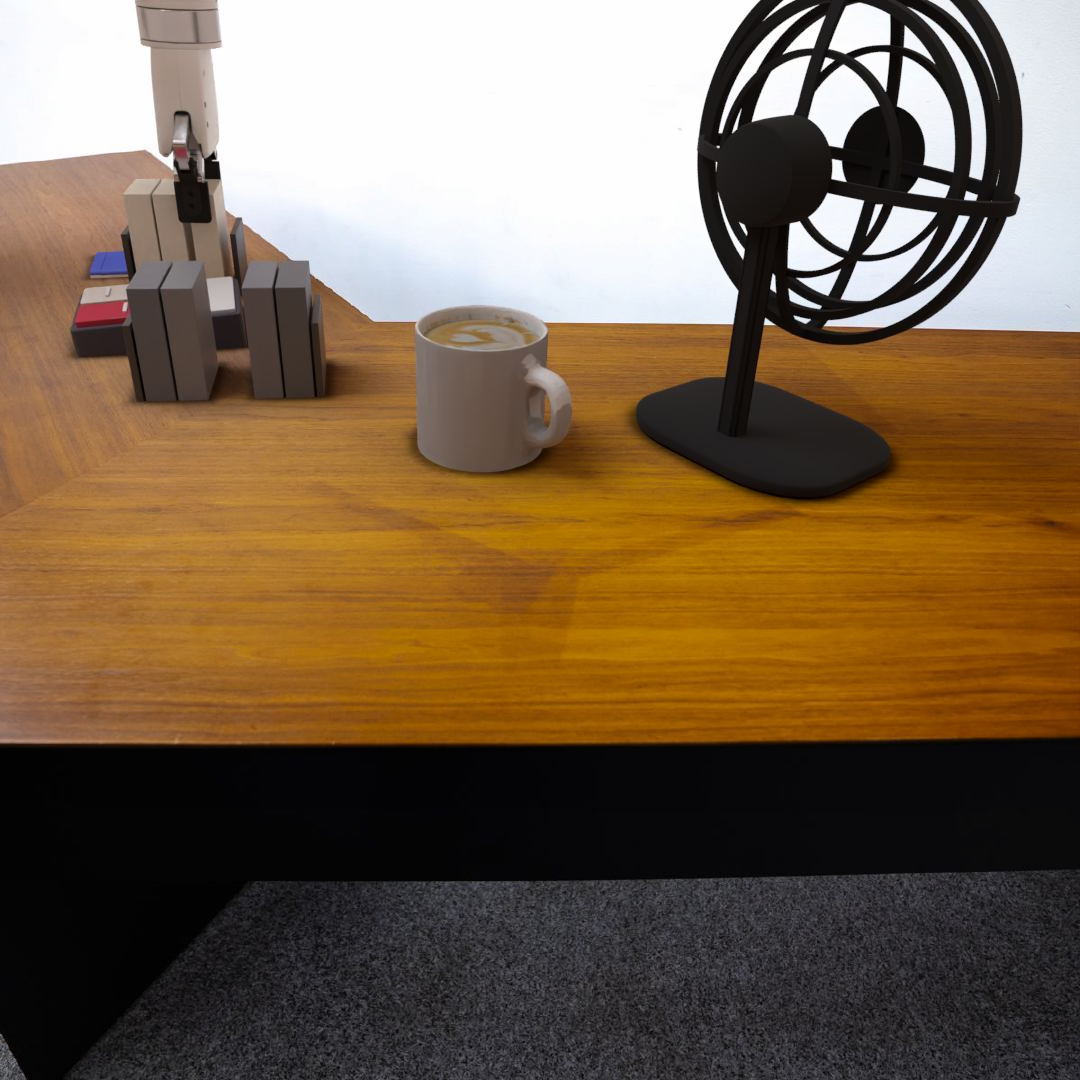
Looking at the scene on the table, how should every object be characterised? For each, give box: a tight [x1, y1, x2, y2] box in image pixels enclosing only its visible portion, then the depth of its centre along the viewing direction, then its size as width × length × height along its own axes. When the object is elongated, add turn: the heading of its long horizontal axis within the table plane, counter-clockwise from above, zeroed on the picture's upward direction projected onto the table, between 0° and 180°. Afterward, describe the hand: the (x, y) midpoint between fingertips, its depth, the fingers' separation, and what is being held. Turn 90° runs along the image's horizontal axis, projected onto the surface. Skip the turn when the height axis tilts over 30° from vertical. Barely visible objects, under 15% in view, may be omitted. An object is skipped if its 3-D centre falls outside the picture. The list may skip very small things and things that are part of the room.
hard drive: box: [89, 250, 128, 279], centre depth 113 cm, size 2×8×12 cm
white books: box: [120, 178, 249, 297], centre depth 105 cm, size 11×7×11 cm, turn 99°
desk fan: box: [635, 0, 1024, 498], centre depth 72 cm, size 27×18×35 cm, turn 40°
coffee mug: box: [414, 304, 573, 473], centre depth 75 cm, size 13×10×10 cm
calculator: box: [69, 277, 248, 358], centre depth 95 cm, size 11×4×15 cm
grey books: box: [122, 260, 327, 403], centre depth 84 cm, size 15×8×10 cm, turn 99°
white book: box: [191, 178, 235, 279], centre depth 105 cm, size 3×7×11 cm, turn 9°
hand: (202, 210), depth 104 cm, fingers open, 9 cm apart
